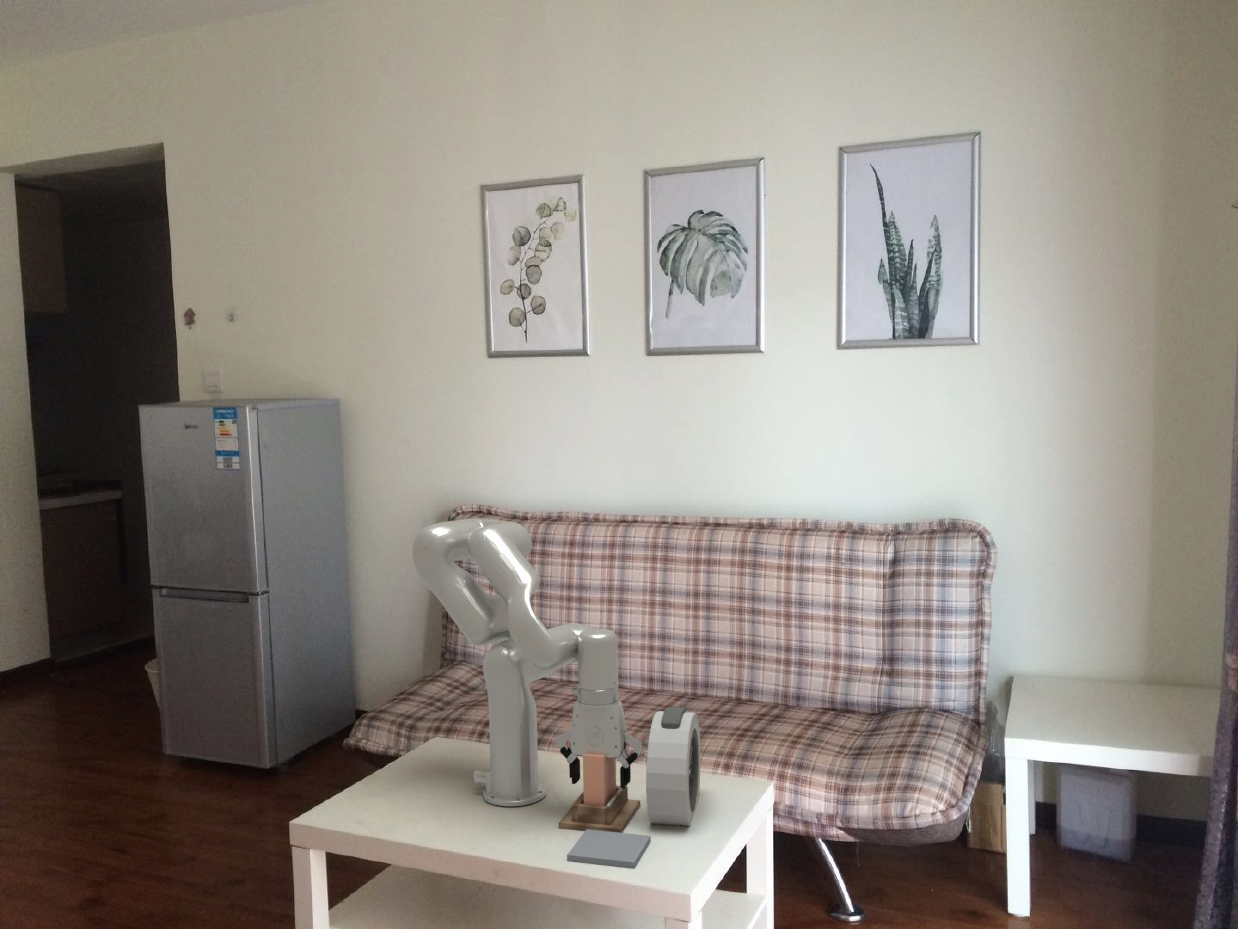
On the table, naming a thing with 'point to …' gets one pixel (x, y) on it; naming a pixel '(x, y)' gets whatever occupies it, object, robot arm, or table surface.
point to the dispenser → (601, 813)
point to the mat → (609, 848)
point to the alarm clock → (673, 767)
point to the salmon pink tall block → (598, 779)
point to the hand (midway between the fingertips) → (600, 784)
